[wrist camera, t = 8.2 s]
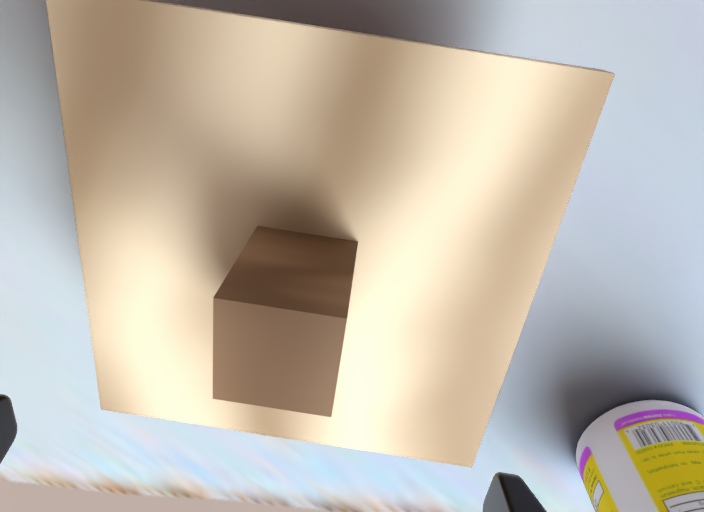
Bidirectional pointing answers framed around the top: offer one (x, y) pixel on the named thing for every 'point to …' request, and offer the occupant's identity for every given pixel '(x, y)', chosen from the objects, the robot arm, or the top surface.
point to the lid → (310, 219)
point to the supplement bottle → (644, 458)
